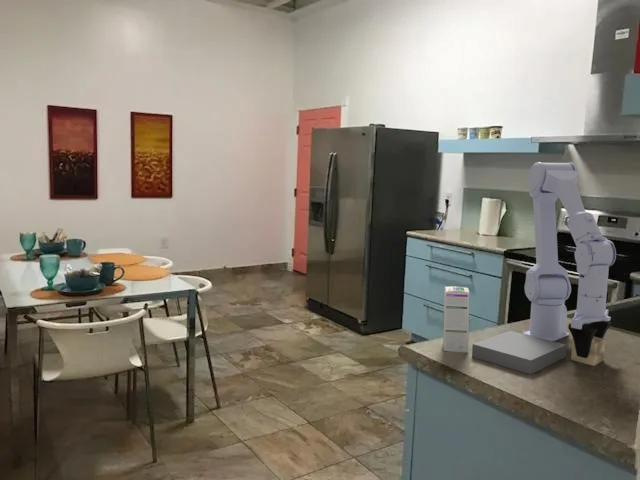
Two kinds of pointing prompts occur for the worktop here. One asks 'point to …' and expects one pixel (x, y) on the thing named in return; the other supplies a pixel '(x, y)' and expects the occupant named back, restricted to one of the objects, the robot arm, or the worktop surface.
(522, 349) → the plate
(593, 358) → the birch block
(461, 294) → the syrup box
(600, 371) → the worktop surface
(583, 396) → the worktop surface
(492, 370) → the worktop surface
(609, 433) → the worktop surface
